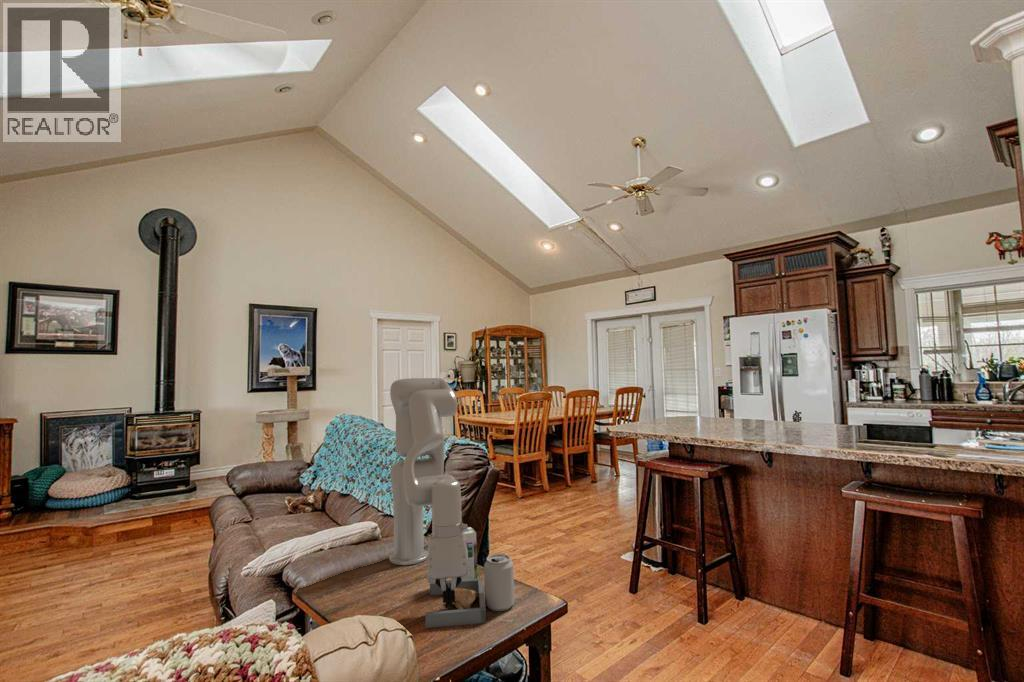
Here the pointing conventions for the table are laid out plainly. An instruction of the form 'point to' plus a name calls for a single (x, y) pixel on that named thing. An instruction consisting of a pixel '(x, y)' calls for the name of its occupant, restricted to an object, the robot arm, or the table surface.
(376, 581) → the table surface
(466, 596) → the shard
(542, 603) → the table surface
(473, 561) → the syrup box
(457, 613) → the box
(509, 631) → the table surface
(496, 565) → the can
